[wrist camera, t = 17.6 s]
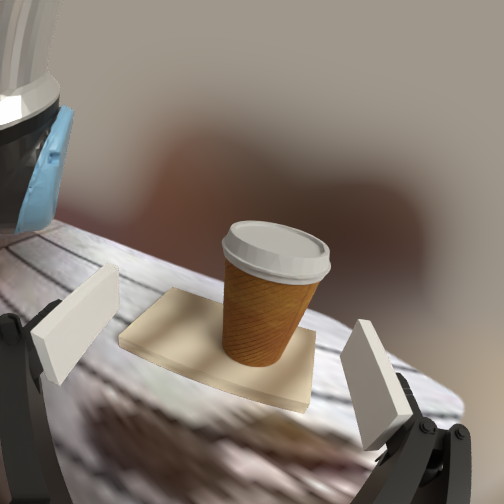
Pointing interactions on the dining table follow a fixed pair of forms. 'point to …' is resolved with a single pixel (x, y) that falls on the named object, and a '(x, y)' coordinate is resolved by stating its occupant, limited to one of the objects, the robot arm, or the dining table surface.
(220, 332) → the serving board
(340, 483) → the dining table surface
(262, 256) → the disposable coffee cup
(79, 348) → the robot arm
